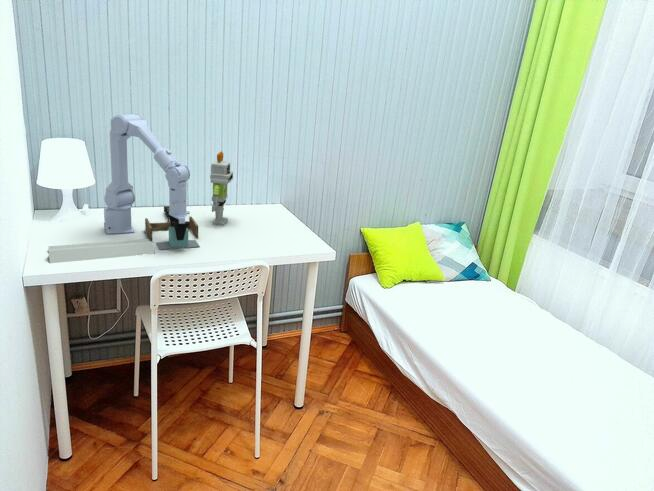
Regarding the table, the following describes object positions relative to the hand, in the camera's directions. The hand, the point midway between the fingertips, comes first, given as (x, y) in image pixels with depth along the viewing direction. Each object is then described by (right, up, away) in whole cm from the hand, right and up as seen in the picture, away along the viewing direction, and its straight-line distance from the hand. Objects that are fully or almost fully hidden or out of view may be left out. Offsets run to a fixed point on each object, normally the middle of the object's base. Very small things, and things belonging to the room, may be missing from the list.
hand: (178, 236), depth 171 cm
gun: (-10, +7, +27) cm, 30 cm away
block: (0, -3, +1) cm, 3 cm away
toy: (+8, +6, +30) cm, 32 cm away
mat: (0, -3, +1) cm, 3 cm away
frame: (-6, +1, +11) cm, 12 cm away
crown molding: (-22, -6, -11) cm, 25 cm away
